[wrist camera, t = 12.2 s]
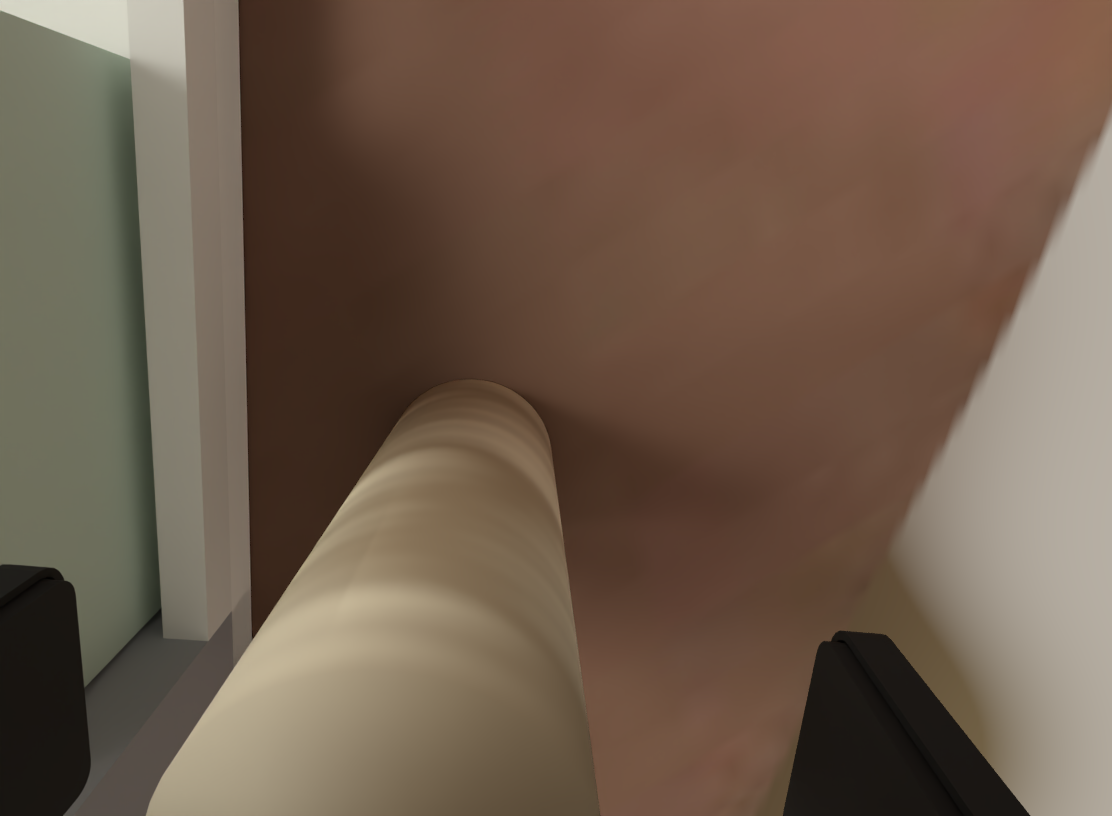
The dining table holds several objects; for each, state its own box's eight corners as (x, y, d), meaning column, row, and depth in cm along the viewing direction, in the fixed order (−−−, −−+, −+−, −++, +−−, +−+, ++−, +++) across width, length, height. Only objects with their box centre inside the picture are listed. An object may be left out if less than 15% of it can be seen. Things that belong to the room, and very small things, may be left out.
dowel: (381, 521, 18) (132, 1031, 7) (399, 367, 17) (147, 642, 6) (538, 542, 19) (565, 1063, 7) (563, 392, 18) (643, 700, 6)
